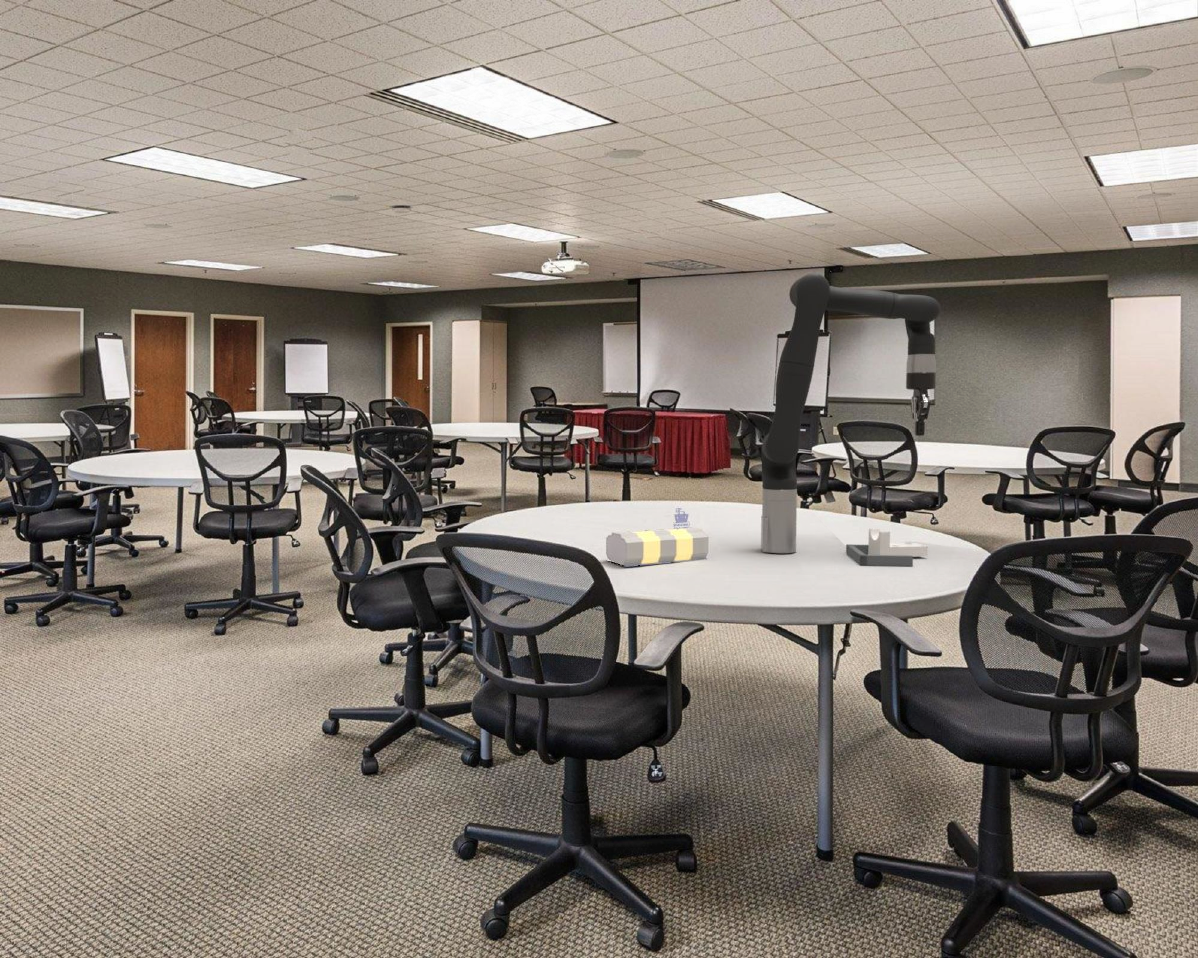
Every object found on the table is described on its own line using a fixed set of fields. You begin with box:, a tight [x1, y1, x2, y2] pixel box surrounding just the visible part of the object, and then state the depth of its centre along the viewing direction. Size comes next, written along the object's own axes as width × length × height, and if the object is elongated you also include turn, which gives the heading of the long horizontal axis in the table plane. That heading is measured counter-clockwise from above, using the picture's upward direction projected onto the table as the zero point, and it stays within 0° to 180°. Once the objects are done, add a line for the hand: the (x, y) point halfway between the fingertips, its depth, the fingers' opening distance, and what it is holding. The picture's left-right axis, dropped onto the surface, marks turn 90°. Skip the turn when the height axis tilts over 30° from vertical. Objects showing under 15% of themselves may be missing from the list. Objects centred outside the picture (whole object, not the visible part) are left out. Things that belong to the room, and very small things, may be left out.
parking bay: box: [845, 544, 914, 567], centre depth 235 cm, size 12×21×2 cm, turn 174°
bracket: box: [867, 528, 928, 558], centre depth 239 cm, size 13×7×8 cm, turn 98°
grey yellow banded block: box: [605, 507, 709, 568], centre depth 236 cm, size 25×10×13 cm, turn 119°
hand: (919, 435), depth 247 cm, fingers closed
